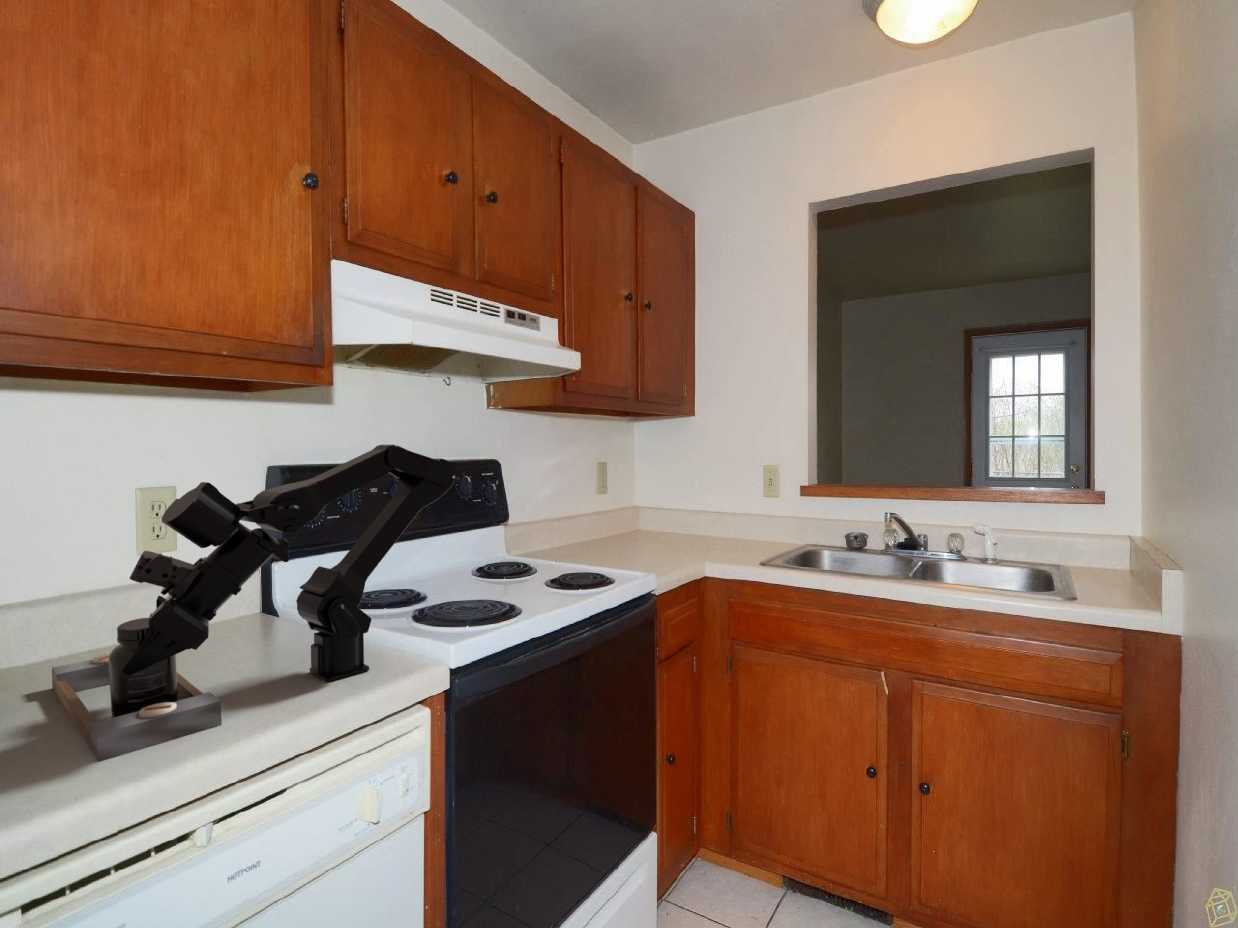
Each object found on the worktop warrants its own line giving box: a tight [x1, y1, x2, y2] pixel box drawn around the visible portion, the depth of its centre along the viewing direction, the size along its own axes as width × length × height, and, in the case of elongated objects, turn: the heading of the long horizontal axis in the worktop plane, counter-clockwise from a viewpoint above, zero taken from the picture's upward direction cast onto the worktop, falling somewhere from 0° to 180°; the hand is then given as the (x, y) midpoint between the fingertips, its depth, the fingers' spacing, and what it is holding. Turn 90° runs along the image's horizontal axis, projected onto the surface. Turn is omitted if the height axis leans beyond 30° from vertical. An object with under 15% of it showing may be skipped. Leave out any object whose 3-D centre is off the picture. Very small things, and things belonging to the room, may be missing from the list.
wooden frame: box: [51, 653, 222, 762], centre depth 85 cm, size 12×31×4 cm, turn 49°
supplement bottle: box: [108, 617, 179, 718], centre depth 81 cm, size 7×7×12 cm
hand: (129, 664), depth 80 cm, fingers closed on supplement bottle, 6 cm apart
